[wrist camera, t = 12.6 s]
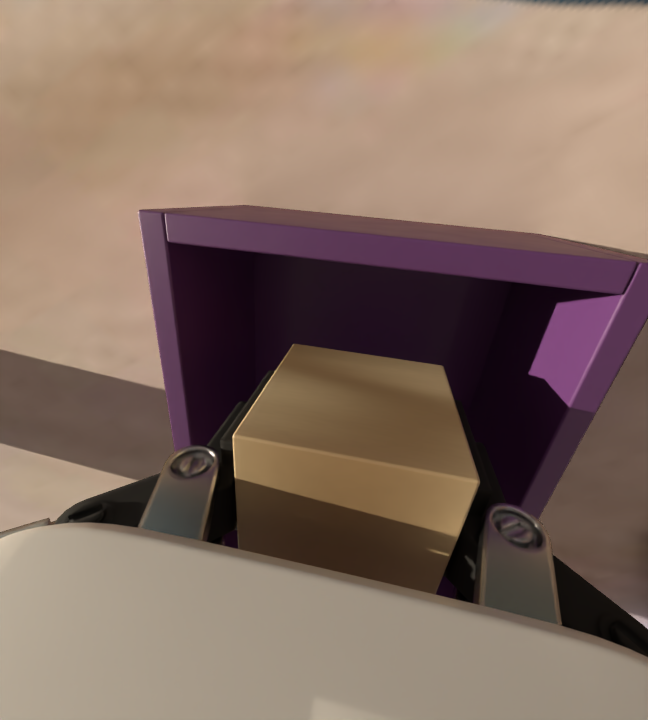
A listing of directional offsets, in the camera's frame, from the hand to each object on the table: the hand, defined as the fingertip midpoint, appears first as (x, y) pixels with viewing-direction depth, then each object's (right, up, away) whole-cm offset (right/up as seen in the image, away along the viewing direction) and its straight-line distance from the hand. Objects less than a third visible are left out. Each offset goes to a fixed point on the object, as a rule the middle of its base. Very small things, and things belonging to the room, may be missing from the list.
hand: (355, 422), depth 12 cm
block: (0, 0, 0) cm, 0 cm away
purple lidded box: (+1, +1, +7) cm, 7 cm away
